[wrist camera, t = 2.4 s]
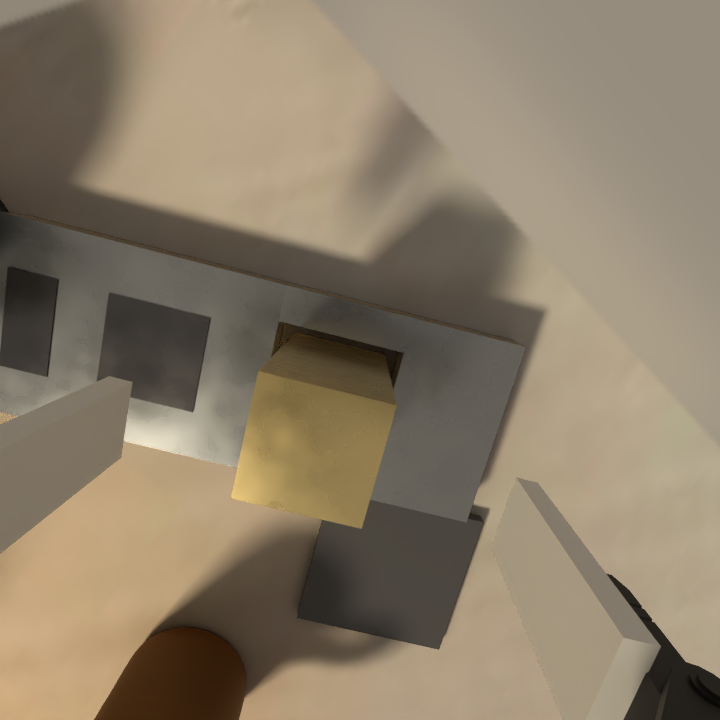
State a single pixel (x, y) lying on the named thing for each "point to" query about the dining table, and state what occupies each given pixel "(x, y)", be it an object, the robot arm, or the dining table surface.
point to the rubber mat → (390, 573)
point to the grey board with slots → (234, 355)
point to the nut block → (316, 430)
